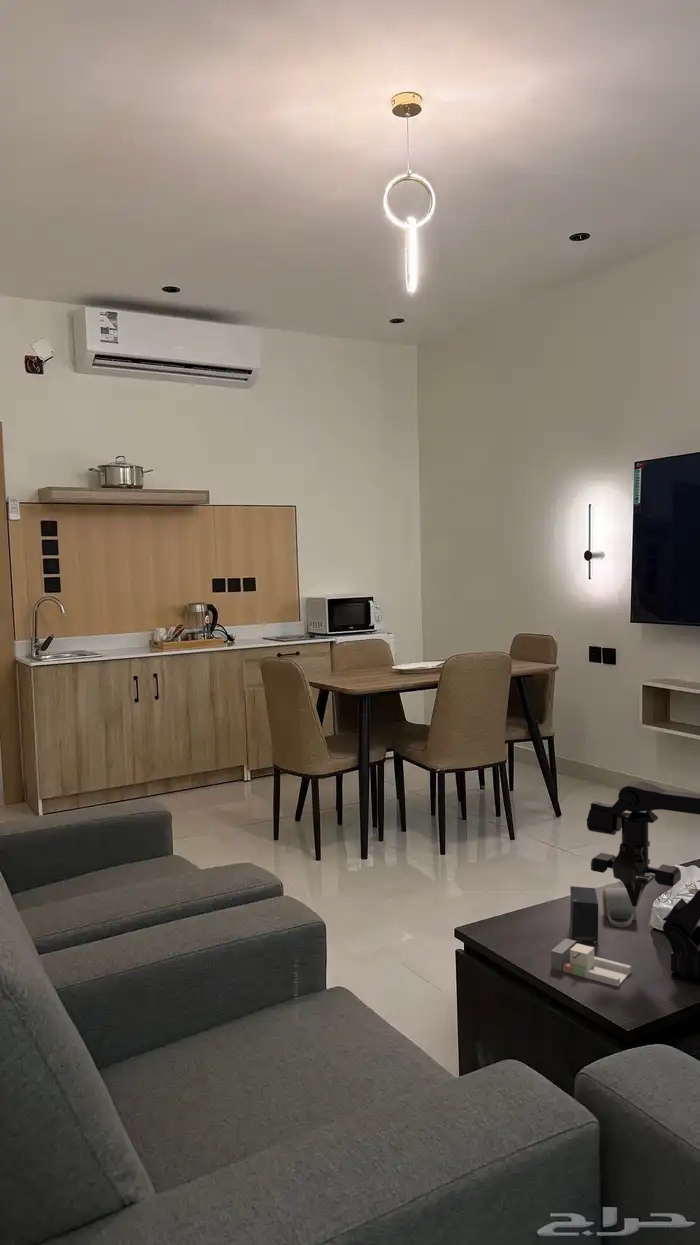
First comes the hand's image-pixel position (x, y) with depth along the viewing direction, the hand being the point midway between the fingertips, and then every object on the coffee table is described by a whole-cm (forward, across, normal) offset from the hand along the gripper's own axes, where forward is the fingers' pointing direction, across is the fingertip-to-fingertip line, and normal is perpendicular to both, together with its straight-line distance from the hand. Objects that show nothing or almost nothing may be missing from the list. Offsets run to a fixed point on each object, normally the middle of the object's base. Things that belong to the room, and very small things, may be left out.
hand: (635, 906), depth 197 cm
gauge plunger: (+13, -9, -11) cm, 19 cm away
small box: (+13, -15, +7) cm, 21 cm away
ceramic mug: (+13, -11, +22) cm, 28 cm away
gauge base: (+13, -6, -10) cm, 17 cm away
